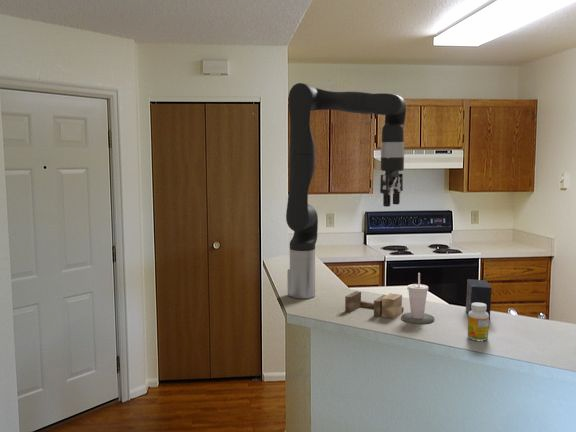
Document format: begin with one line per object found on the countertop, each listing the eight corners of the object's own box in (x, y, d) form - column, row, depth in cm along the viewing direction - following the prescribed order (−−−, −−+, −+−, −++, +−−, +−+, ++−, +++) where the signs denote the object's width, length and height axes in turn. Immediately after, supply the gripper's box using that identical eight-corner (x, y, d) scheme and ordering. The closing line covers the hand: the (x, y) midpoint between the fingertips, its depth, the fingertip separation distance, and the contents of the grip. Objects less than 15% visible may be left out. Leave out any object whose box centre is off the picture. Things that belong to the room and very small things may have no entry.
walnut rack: (345, 311, 176) (345, 293, 176) (356, 304, 184) (357, 287, 183) (393, 319, 168) (393, 300, 167) (403, 311, 175) (403, 293, 175)
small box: (491, 320, 166) (492, 287, 165) (469, 319, 167) (470, 286, 166) (486, 311, 176) (487, 279, 175) (465, 309, 177) (466, 278, 176)
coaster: (396, 320, 166) (396, 318, 166) (407, 312, 174) (407, 310, 174) (428, 325, 161) (428, 323, 161) (438, 317, 169) (438, 315, 169)
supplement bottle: (464, 335, 152) (465, 301, 151) (482, 334, 152) (483, 301, 151) (472, 342, 147) (473, 307, 146) (491, 341, 147) (492, 306, 146)
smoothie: (416, 321, 163) (416, 275, 162) (402, 315, 169) (403, 271, 168) (432, 317, 166) (433, 273, 165) (418, 312, 172) (419, 269, 170)
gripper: (389, 156, 185) (388, 203, 187) (373, 156, 173) (372, 206, 175) (410, 156, 181) (409, 204, 183) (395, 156, 169) (394, 207, 171)
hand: (391, 205), depth 179 cm, fingers open, 8 cm apart
